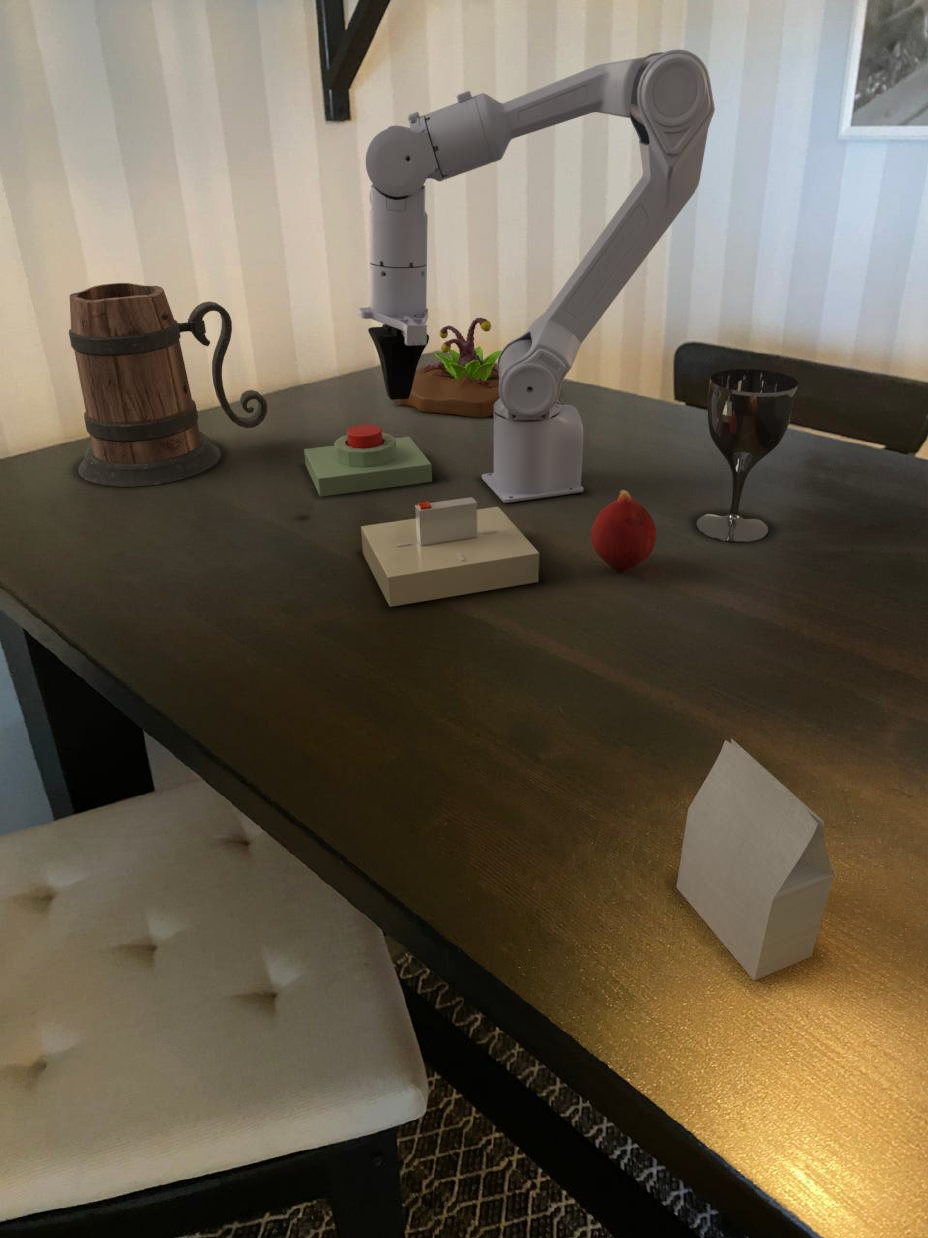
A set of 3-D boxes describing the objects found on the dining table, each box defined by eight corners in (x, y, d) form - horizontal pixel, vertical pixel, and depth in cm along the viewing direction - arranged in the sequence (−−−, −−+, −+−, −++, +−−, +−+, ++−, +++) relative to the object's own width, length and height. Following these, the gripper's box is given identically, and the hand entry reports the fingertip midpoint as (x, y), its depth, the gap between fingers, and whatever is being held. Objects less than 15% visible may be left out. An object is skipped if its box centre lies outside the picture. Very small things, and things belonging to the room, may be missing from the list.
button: (378, 437, 106) (377, 422, 105) (386, 448, 103) (385, 433, 102) (345, 441, 105) (343, 426, 104) (351, 452, 102) (350, 437, 101)
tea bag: (754, 981, 46) (787, 835, 40) (676, 887, 51) (697, 748, 46) (811, 956, 47) (851, 812, 42) (729, 867, 52) (756, 730, 47)
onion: (656, 561, 85) (664, 482, 81) (646, 589, 81) (654, 507, 77) (596, 553, 87) (601, 475, 83) (582, 580, 82) (587, 499, 78)
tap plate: (498, 533, 91) (498, 504, 90) (538, 582, 82) (539, 551, 81) (362, 554, 88) (360, 524, 86) (389, 607, 79) (387, 575, 77)
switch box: (472, 531, 85) (472, 494, 83) (477, 537, 84) (477, 499, 82) (416, 539, 83) (414, 502, 81) (420, 546, 82) (419, 508, 80)
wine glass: (778, 518, 93) (803, 373, 86) (765, 549, 87) (792, 396, 80) (701, 506, 96) (719, 365, 89) (684, 535, 90) (702, 387, 83)
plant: (494, 425, 120) (494, 340, 114) (376, 404, 129) (371, 323, 123) (561, 387, 134) (564, 310, 129) (451, 370, 144) (450, 297, 138)
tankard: (86, 496, 101) (41, 312, 91) (71, 450, 114) (30, 285, 104) (289, 461, 110) (268, 289, 100) (253, 422, 123) (232, 266, 113)
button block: (410, 453, 112) (408, 421, 110) (432, 482, 103) (431, 448, 101) (305, 466, 108) (302, 434, 106) (320, 497, 100) (316, 463, 98)
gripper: (344, 251, 94) (348, 380, 101) (375, 277, 83) (377, 421, 90) (409, 250, 96) (408, 377, 103) (448, 276, 85) (445, 416, 92)
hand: (398, 397), depth 97 cm, fingers closed
